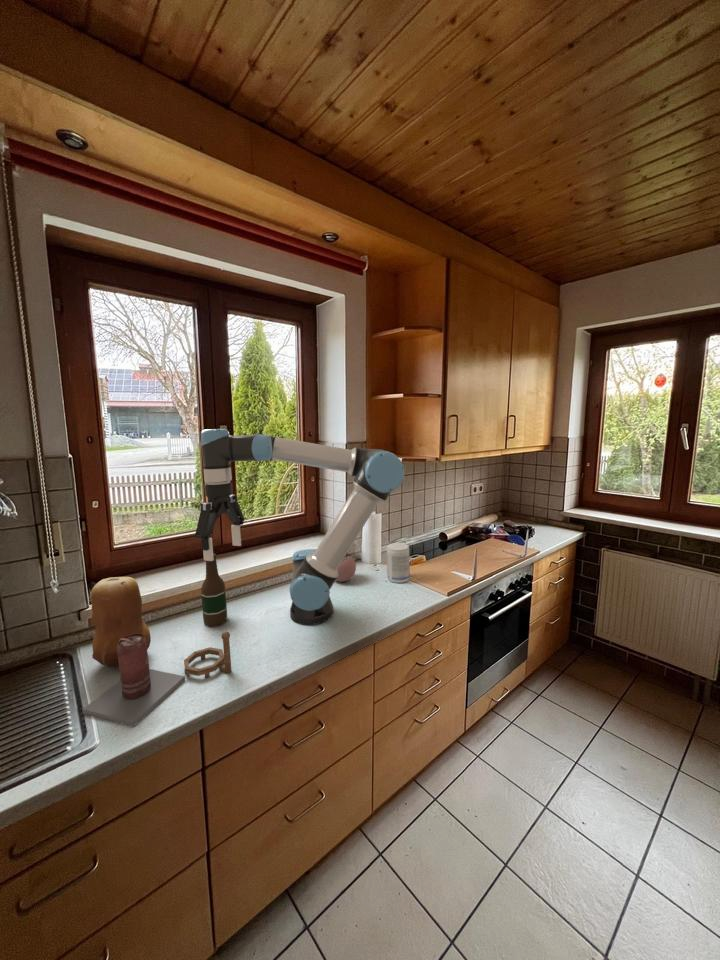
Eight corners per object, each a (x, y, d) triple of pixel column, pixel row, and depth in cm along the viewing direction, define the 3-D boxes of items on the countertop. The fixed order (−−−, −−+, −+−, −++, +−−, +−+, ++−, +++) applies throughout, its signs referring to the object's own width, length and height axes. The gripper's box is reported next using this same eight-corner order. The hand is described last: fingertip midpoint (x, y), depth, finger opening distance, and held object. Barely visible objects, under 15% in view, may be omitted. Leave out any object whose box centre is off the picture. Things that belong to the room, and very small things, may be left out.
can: (129, 684, 97) (123, 633, 95) (155, 682, 97) (149, 631, 95) (116, 701, 91) (109, 647, 89) (144, 699, 91) (137, 645, 89)
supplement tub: (414, 579, 162) (414, 545, 160) (400, 585, 155) (399, 551, 153) (396, 573, 169) (396, 541, 166) (382, 579, 162) (382, 546, 160)
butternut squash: (141, 643, 117) (132, 566, 114) (160, 659, 109) (151, 576, 105) (88, 665, 107) (76, 581, 103) (104, 685, 98) (93, 594, 95)
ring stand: (242, 661, 107) (239, 623, 106) (220, 684, 98) (217, 642, 96) (202, 654, 111) (198, 617, 109) (176, 675, 102) (173, 635, 100)
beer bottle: (219, 628, 125) (214, 558, 121) (198, 626, 126) (192, 557, 123) (232, 616, 132) (227, 550, 129) (212, 615, 134) (206, 549, 131)
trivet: (185, 680, 100) (184, 676, 100) (133, 726, 85) (133, 721, 84) (139, 671, 104) (139, 666, 104) (82, 713, 89) (82, 709, 89)
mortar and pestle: (343, 572, 170) (343, 548, 168) (362, 580, 161) (361, 554, 160) (322, 580, 162) (321, 554, 160) (340, 589, 153) (339, 562, 152)
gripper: (232, 476, 123) (237, 539, 126) (176, 489, 99) (183, 566, 102) (252, 476, 121) (257, 540, 124) (200, 490, 97) (206, 568, 100)
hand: (223, 552), depth 113 cm, fingers open, 13 cm apart
